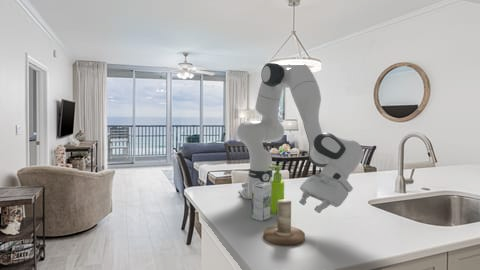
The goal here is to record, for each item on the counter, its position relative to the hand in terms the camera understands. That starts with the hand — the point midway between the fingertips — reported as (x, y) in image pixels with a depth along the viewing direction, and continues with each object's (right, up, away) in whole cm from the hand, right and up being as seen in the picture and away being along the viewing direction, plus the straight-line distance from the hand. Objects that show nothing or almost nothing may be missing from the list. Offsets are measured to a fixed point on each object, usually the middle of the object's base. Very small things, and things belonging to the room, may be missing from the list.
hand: (308, 207), depth 107 cm
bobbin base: (-9, -9, -3) cm, 14 cm away
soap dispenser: (-9, -8, +25) cm, 28 cm away
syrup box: (-16, -8, +16) cm, 24 cm away
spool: (-9, -8, -3) cm, 12 cm away
